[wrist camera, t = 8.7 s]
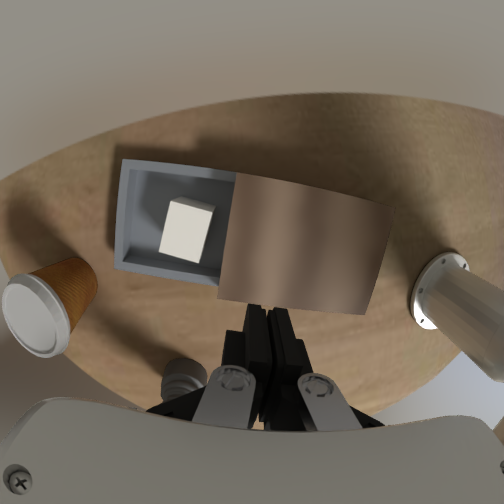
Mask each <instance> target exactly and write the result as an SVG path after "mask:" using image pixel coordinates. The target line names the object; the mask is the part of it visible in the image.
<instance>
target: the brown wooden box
mask: <svg viewBox="0 0 504 504" xmlns="http://www.w3.org/2000/svg"><path fill="white" fill-rule="evenodd" d="M394 213H395V207H391V206H388V205H384V204H381V203H377V202H373V201H369V200H366V199H362V198H358V197H354V196H350V195H346V194H342V193H338V192H334V191H329V190H325V189H321V188H316V187H312V186H307V185H302V184H298V183H293V182H288V181H283V180H278V179H272V178H267V177H262V176H256V175H250V174H244V173H238V172H237V175H236V181H235V186H234V192H233V198H232V204H231V210H230V216H229V222H228V229H227V235H226V241H225V248H224V254H223V261H222V267H221V274H220V281H219V288H218V296H217V299H223V300H230V301H237V302H244V303H251V304H259V305H267V306H275V307H284V308H293V309H302V310H312V311H322V312H332V313H344V314H356V315H365V313H366V310H367V307H368V304H369V301H370V298H371V295H372V292H373V289H374V286H375V283H376V280H377V277H378V274H379V270H380V267H381V263H382V260H383V256H384V253H385V249H386V245H387V242H388V238H389V234H390V230H391V226H392V222H393V217H394Z"/></svg>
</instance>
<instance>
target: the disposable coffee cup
mask: <svg viewBox="0 0 504 504" xmlns="http://www.w3.org/2000/svg"><path fill="white" fill-rule="evenodd" d="M97 287H98V284H97V279H96V275H95V273H94V271H93V270H92V268H91V267H90V266H89V265H88V264H87V263H86V262H85V261H83V260H81V259H79V258H70V259H67V260H64V261H61V262H58V263H56V264H53V265H50V266H48V267H45V268H42V269H40V270H37V271H34V272H32V273H29V274H17V275H15V276H14V277H12V278H11V279H10V281H9V282H8V285H7V287H6V288H5V290H4V293H3V296H2V309H3V313H4V317H5V320H6V322H7V324H8V327H9V329H10V330H11V332H12V333H13V335H14V337H15V338H16V339H17V340H18V341H19V343H20V344H21V345H22V346H23V347H24V348H26V349H27V350H28V351H29V352H31V353H33V354H35V355H37V356H39V357H43V358H48V357H52V356H54V355H58V354H61V353H62V352H63V351H64V350H65V349H66V347H67V345H68V343H69V337H70V334H71V332H72V331H73V329H74V328H75V326H76V324H77V323H78V321H79V320H80V318H81V316H82V314H83V313H84V311H85V310H86V308H87V307H88V305H89V304H90V302H91V301H92V299H93V298H94V296H95V295H96V292H97Z"/></svg>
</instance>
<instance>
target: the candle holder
mask: <svg viewBox="0 0 504 504" xmlns="http://www.w3.org/2000/svg"><path fill="white" fill-rule="evenodd" d="M206 385H207V373H206V370H205V369H204V368H203V366H202V365H201V364H199V363H197V362H196V361H194V360H190V359H186V358H181V359H175V360H173V361H170V362H169V364H168V365H167V366H166V368H165V372H164V375H163V378H162V382H161V397H162V399H163V402H162V403H165V402H167V401H170V400H172V399H175V398H177V397H180V396H182V395H185V394H187V393H190V392H192V391H194V390H197V389H199V388H202V387H204V386H206ZM162 403H161V404H162Z"/></svg>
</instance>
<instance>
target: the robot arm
mask: <svg viewBox="0 0 504 504" xmlns="http://www.w3.org/2000/svg"><path fill="white" fill-rule="evenodd" d="M411 313H412V317H413V318H414V320H415V322H416V323H417V324H418V325H419V326H421V327H422V328H425V329H435V328H438V329H439V330H440V331H441V332H442V333H443V334H445V335H446V336H447V337H448V338H449V339H450V340H451V341H452V342H453V343H454V344H455V345H456V346H457V347H459V348H460V349H461V350H462V351H463V352H464V353H465V354H466V355H467V356H468V357H469V358H470V359H471V360H472V361H473V362H474V363H475V364H476V365H477V366H478V367H479V368H480V369H481V370H482V371H483V372H484V373H486V375H487V376H489V377H490V378H491V379H493V380H494V381H497V382H503V383H504V291H503V290H501V289H499V288H498V287H496V286H494V285H493V284H491V283H489V282H487V281H486V280H484V279H482V278H480V277H478V276H477V275H475V274H473V273H471V272H470V270H469V266H468V263H467V262H466V260H465V259H464V258H463V257H462V256H461V255H459V254H457V253H454V252H445V253H442V254H440V255H438V256H436V257H435V258H434V259H432V260H431V261H430V262H429V263H428V264H427V265H426V267H425V268H424V269H423V271H422V272H421V274H420V275H419V277H418V279H417V281H416V283H415V286H414V289H413V292H412V296H411ZM258 414H259V422H264V430H258V429H251V428H252V427H253V425H254V422H255V421H256V418H257V415H258ZM0 504H504V417H503V418H502V419H501V420H500V421H499V423H498V424H497V425H496V427H495V428H494V429H493V430H491V429H490V428H489V427H488V426H487V425H486V423H484V422H483V421H482V420H480V419H478V418H475V417H471V416H462V415H460V416H458V415H457V416H443V417H437V418H432V419H426V420H420V421H415V422H409V423H403V424H397V425H388V426H385V425H384V424H382V423H380V422H379V421H378V420H376V419H373V418H372V417H370V416H368V415H366V414H364V413H362V412H360V411H359V410H357V409H355V408H353V407H351V406H350V405H348V403H347V401H346V400H345V398H344V396H343V395H342V393H341V391H340V390H339V388H338V386H337V385H336V383H335V382H334V381H333V380H332V379H330V378H329V377H327V376H325V375H322V374H318V373H313V370H312V367H311V364H310V360H309V357H308V354H307V351H306V348H305V345H304V342H303V340H302V339H296V338H295V334H294V331H293V327H292V324H291V320H290V317H289V314H288V310H287V309H284V308H277V307H274V308H273V310H269V311H268V314H267V316H266V310H265V309H261V305H256V304H249V303H248V306H247V311H246V316H245V321H244V326H243V331H242V332H238V331H232V330H227V331H226V336H225V342H224V349H223V355H222V363H221V366H220V367H218V368H216V369H215V370H214V371H213V372H212V374H211V376H210V379H209V381H208V383H207V385H206V386H204V387H202V388H199V389H197V390H194V391H192V392H190V393H187V394H185V395H182V396H180V397H177V398H175V399H172V400H170V401H167V402H165V403H162V404H159V405H157V406H154V407H152V408H150V409H148V410H147V411H146V412H144V411H140V410H137V408H130V407H124V406H120V405H116V404H111V403H107V402H102V401H97V400H90V399H84V398H69V397H57V398H49V399H45V400H42V401H40V402H38V403H36V404H35V405H33V406H32V407H31V408H30V409H29V410H28V411H26V412H25V414H24V415H23V416H22V417H21V418H20V419H19V420H18V421H17V422H16V424H15V425H14V426H13V427H12V428H11V430H10V431H9V433H8V434H7V435H6V437H5V438H4V440H3V441H2V443H1V444H0Z"/></svg>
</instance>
